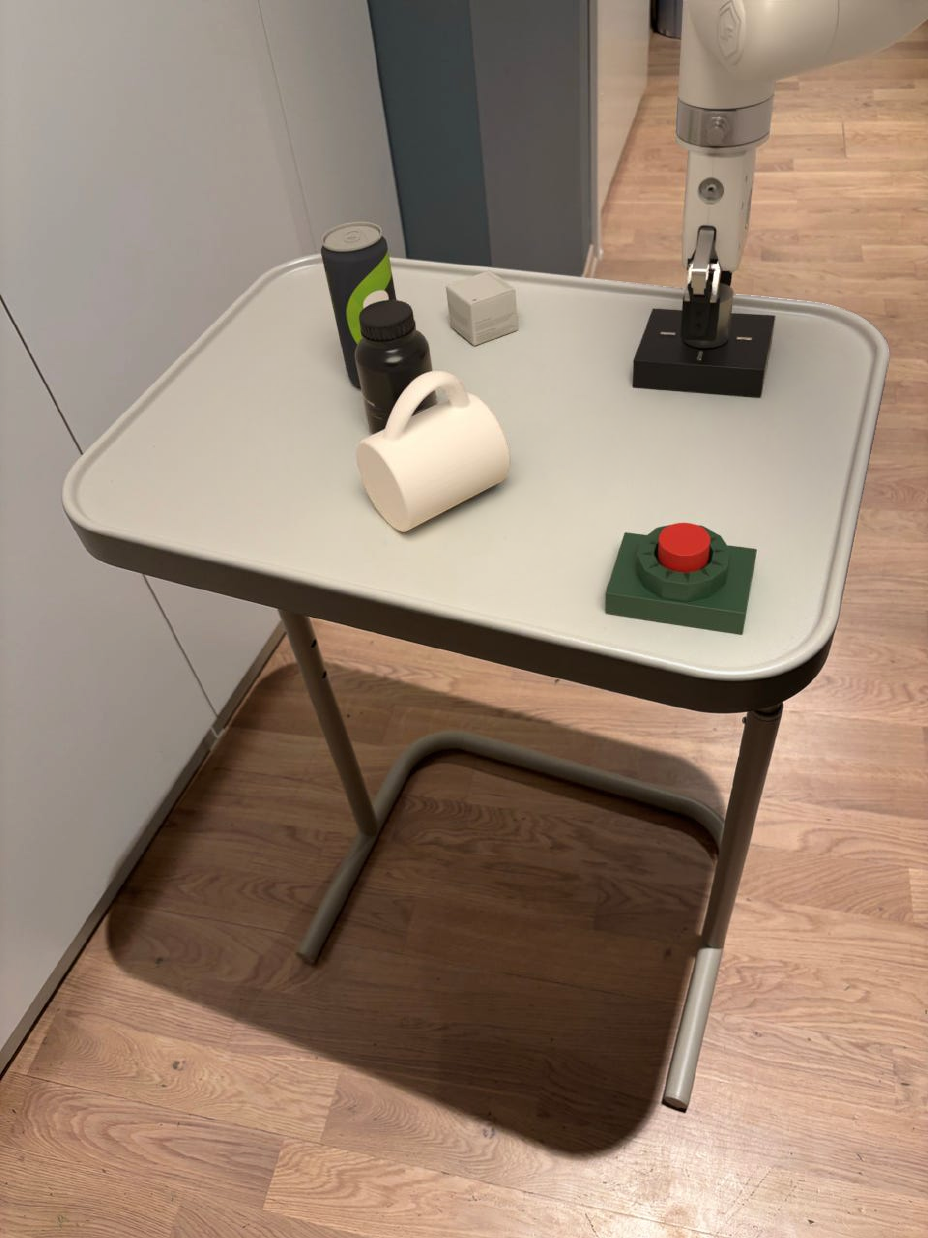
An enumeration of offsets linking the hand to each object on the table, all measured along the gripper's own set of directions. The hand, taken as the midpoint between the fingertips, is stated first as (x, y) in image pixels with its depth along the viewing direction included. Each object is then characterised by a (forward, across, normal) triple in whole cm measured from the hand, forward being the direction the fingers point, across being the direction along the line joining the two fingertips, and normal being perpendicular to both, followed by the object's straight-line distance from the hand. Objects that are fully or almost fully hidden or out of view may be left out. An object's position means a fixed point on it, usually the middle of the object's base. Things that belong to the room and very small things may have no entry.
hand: (706, 311), depth 89 cm
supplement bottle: (+6, -15, +26) cm, 31 cm away
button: (+2, -32, -3) cm, 32 cm away
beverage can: (+6, -7, +32) cm, 33 cm away
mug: (+6, -25, +19) cm, 32 cm away
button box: (+5, -32, -3) cm, 33 cm away
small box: (+6, +4, +24) cm, 25 cm away
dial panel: (+6, 0, 0) cm, 6 cm away
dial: (+2, 0, 0) cm, 2 cm away
